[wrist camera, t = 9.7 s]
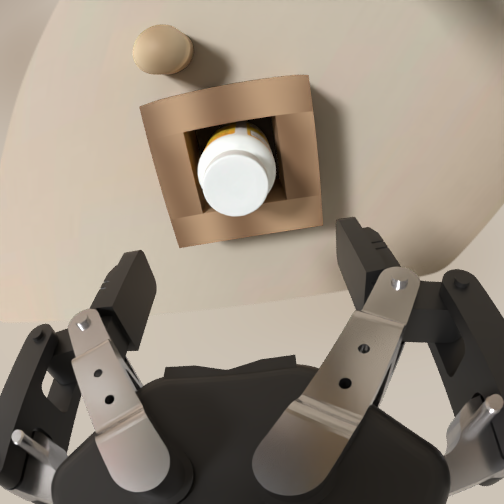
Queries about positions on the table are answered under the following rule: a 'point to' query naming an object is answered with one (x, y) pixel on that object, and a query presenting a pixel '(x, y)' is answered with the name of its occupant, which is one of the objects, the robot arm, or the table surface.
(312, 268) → the table surface
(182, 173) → the square wooden frame
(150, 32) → the short dowel
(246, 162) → the supplement bottle
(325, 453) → the robot arm
